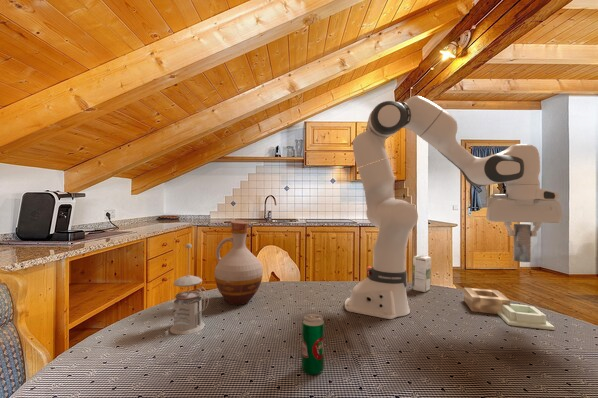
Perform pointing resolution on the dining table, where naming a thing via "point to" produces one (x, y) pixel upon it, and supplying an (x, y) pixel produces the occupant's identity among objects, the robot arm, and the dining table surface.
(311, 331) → the soda can
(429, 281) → the syrup box
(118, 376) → the dining table surface
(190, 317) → the french press
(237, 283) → the jug
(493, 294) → the bored block
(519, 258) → the axle
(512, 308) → the holder
